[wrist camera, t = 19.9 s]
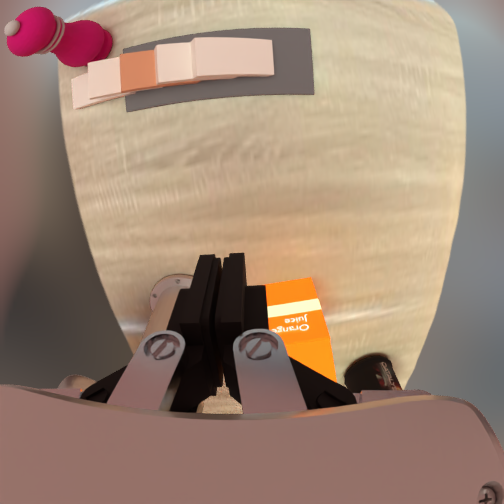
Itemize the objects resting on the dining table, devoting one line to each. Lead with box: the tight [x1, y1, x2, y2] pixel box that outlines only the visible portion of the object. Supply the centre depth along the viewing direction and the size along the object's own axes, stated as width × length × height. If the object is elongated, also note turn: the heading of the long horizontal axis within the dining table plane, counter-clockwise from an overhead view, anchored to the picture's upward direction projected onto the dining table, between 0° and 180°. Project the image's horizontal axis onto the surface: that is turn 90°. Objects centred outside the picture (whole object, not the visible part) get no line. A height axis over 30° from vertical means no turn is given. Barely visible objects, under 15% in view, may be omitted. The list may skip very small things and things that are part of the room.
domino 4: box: [154, 42, 236, 85], centre depth 29 cm, size 2×5×10 cm
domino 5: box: [190, 37, 274, 79], centre depth 29 cm, size 2×5×10 cm
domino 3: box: [119, 50, 200, 93], centre depth 30 cm, size 2×5×10 cm
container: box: [345, 356, 402, 393], centre depth 51 cm, size 12×12×18 cm
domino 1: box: [71, 73, 136, 109], centre depth 32 cm, size 2×5×10 cm
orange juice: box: [266, 277, 337, 383], centre depth 41 cm, size 8×9×20 cm
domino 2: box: [88, 57, 163, 100], centre depth 29 cm, size 2×5×10 cm
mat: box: [123, 28, 314, 112], centre depth 32 cm, size 10×26×1 cm, turn 93°
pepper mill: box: [4, 7, 112, 67], centre depth 21 cm, size 7×7×20 cm
